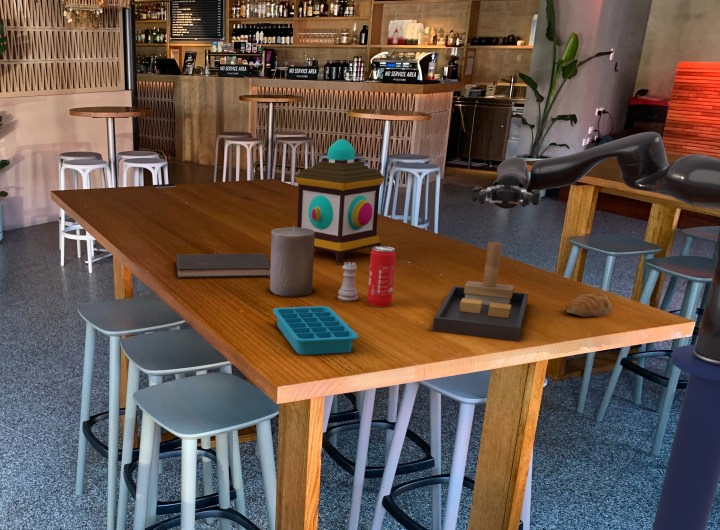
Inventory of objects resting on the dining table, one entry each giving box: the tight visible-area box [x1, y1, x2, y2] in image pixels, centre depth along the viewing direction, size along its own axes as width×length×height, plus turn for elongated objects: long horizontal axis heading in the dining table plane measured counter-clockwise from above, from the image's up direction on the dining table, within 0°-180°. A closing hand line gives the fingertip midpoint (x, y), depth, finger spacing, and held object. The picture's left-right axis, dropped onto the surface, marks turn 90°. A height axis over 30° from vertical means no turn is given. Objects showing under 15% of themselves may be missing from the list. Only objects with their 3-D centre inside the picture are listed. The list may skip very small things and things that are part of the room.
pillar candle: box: [269, 225, 315, 297], centre depth 177 cm, size 10×10×15 cm
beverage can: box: [366, 245, 397, 308], centre depth 168 cm, size 5×5×12 cm
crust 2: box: [488, 303, 511, 318], centre depth 160 cm, size 3×4×2 cm
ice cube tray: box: [272, 305, 359, 356], centre depth 149 cm, size 12×20×3 cm, turn 8°
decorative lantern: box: [294, 138, 386, 265], centre depth 209 cm, size 20×20×30 cm
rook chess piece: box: [337, 261, 359, 302], centre depth 172 cm, size 4×4×8 cm
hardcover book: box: [175, 252, 271, 279], centre depth 198 cm, size 16×23×2 cm
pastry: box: [565, 292, 613, 318], centre depth 163 cm, size 9×7×4 cm
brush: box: [464, 241, 515, 305], centre depth 166 cm, size 4×10×13 cm, turn 66°
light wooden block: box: [459, 298, 482, 313], centre depth 163 cm, size 3×4×2 cm
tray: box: [432, 285, 529, 342], centre depth 161 cm, size 26×16×3 cm, turn 156°
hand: (503, 200), depth 171 cm, fingers open, 8 cm apart
